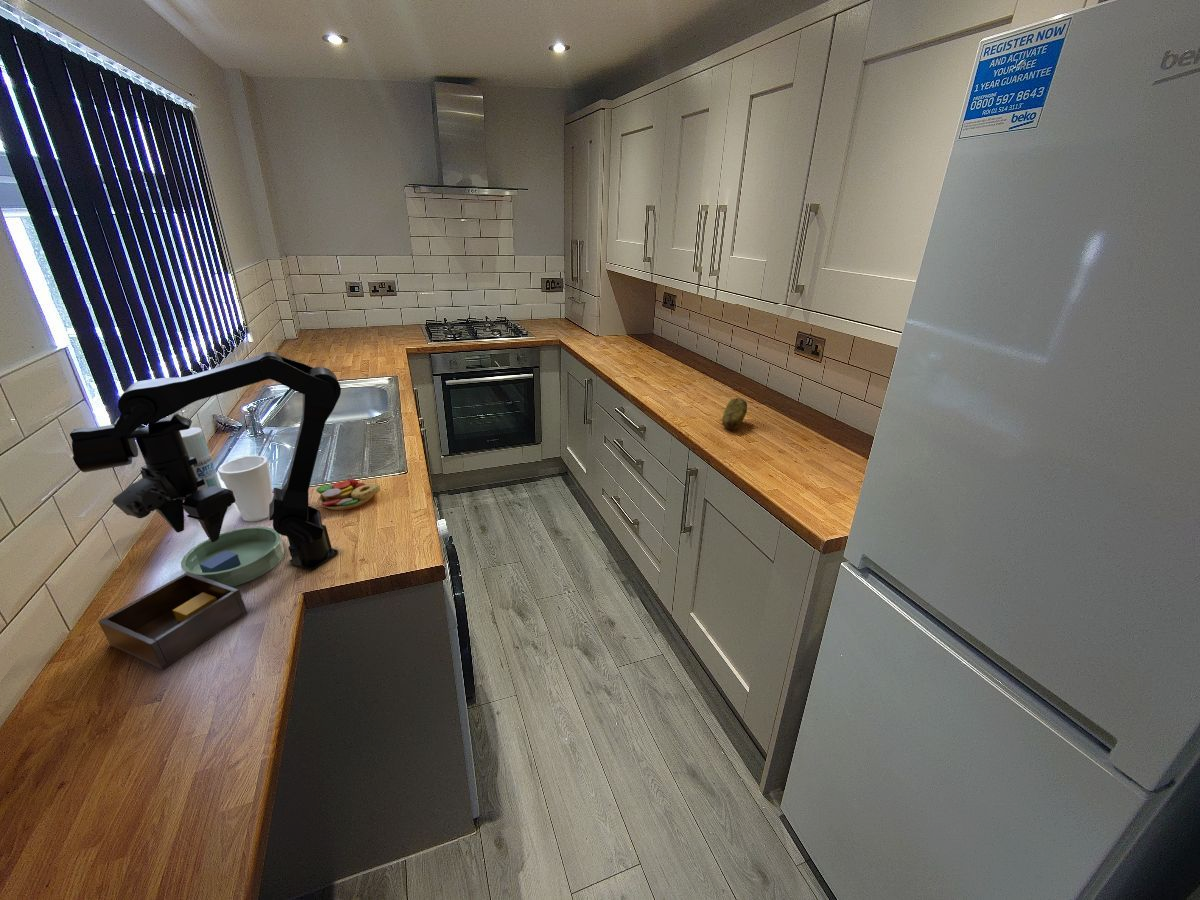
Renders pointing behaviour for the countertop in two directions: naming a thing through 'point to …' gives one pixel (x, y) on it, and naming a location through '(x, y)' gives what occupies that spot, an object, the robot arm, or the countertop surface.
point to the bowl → (251, 545)
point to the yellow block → (193, 606)
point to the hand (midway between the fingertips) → (197, 536)
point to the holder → (172, 620)
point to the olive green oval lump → (734, 413)
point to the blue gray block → (220, 562)
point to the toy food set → (346, 494)
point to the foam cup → (249, 485)
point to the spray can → (200, 457)
